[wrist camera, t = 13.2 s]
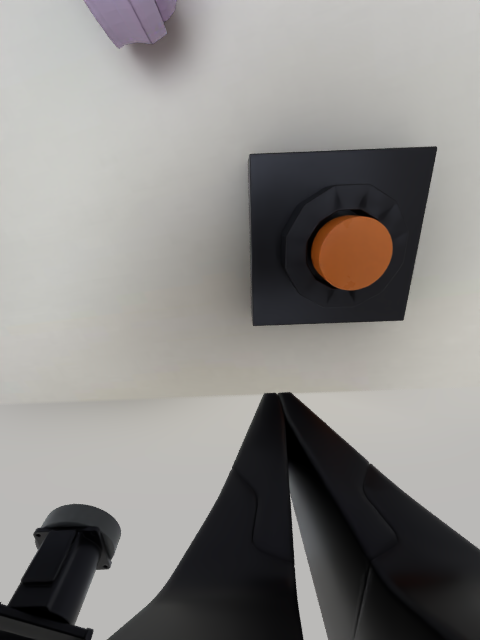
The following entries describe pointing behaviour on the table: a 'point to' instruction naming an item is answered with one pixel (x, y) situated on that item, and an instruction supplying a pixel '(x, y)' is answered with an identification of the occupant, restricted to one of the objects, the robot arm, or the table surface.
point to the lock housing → (319, 208)
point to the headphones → (132, 19)
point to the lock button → (352, 251)
